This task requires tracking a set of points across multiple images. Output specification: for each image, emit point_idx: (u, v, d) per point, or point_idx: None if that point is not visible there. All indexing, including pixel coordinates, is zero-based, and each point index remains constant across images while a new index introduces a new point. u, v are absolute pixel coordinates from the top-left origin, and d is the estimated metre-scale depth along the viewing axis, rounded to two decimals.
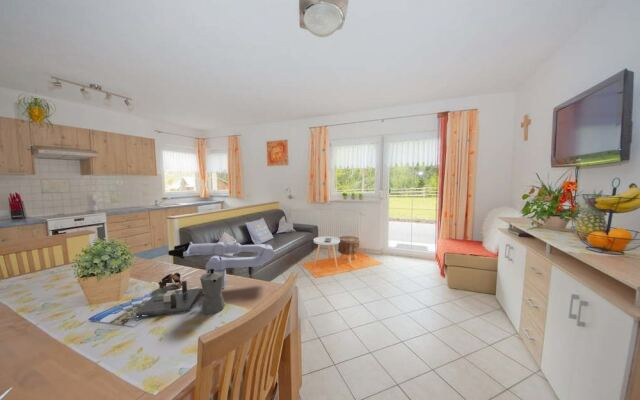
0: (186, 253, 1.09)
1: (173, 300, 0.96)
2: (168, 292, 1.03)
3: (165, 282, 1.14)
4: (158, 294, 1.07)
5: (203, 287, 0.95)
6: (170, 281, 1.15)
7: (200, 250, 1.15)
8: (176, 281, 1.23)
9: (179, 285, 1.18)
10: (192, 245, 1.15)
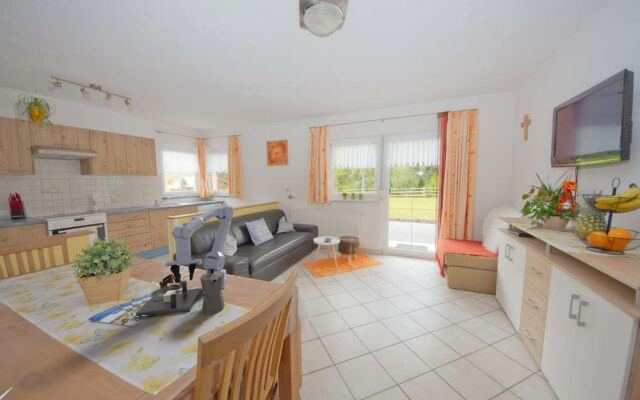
0: (201, 260, 1.04)
1: (173, 300, 0.96)
2: (168, 292, 1.03)
3: (166, 282, 1.14)
4: (158, 294, 1.07)
5: (203, 287, 0.95)
6: (171, 281, 1.15)
7: (187, 251, 1.02)
8: None
9: (180, 285, 1.18)
10: (184, 261, 1.01)
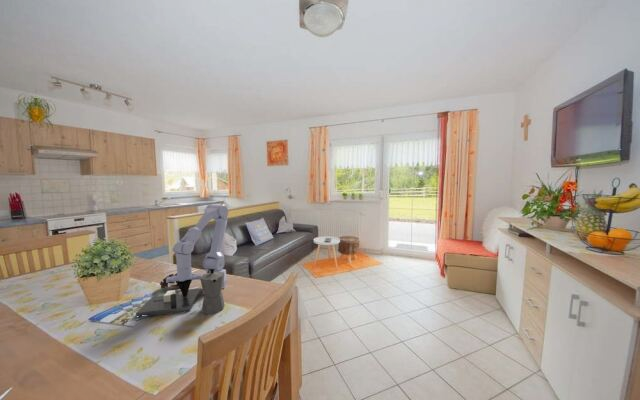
0: None
1: (173, 300, 0.96)
2: (168, 292, 1.03)
3: None
4: (158, 294, 1.07)
5: (203, 287, 0.95)
6: None
7: (188, 267, 1.02)
8: (177, 281, 1.23)
9: None
10: (185, 276, 1.01)
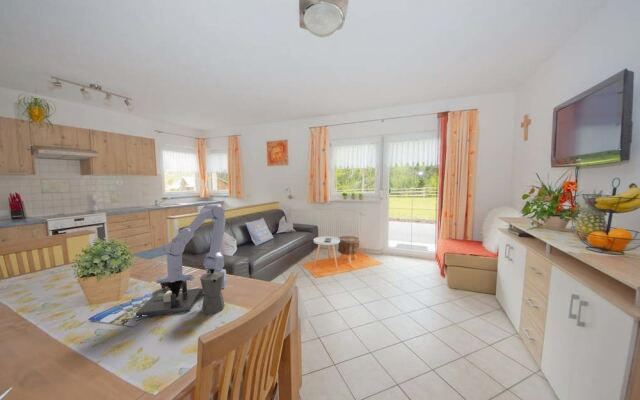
0: (192, 277, 1.04)
1: (173, 300, 0.96)
2: (168, 292, 1.03)
3: (167, 282, 1.14)
4: (158, 294, 1.07)
5: (203, 287, 0.95)
6: None
7: (178, 268, 1.01)
8: None
9: (181, 285, 1.18)
10: (176, 277, 1.00)
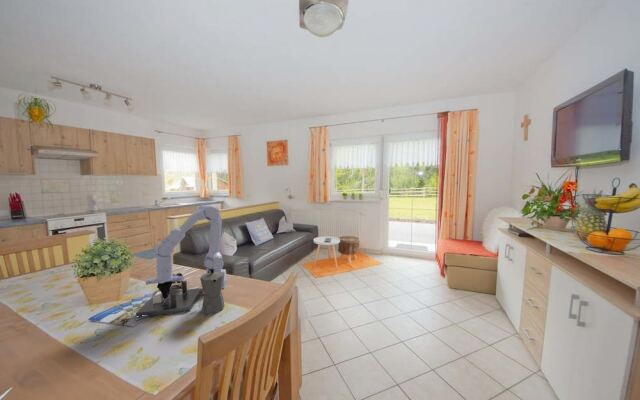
0: (182, 278, 1.03)
1: (173, 300, 0.96)
2: (158, 293, 1.02)
3: None
4: None
5: (203, 287, 0.95)
6: None
7: (166, 269, 1.00)
8: (178, 281, 1.22)
9: None
10: (165, 278, 1.00)
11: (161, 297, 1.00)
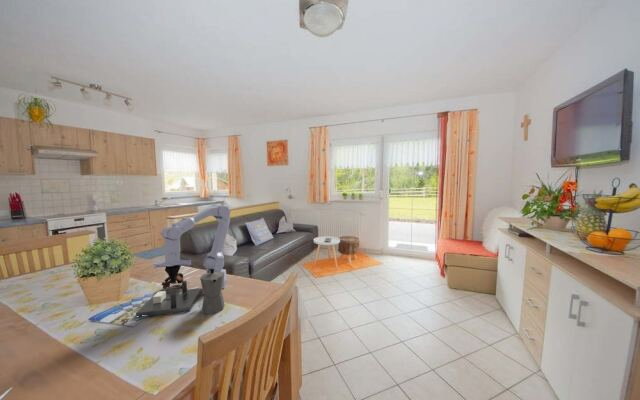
0: (190, 261, 1.03)
1: (173, 300, 0.96)
2: (158, 293, 1.02)
3: (169, 283, 1.14)
4: None
5: (203, 287, 0.95)
6: None
7: (175, 252, 1.00)
8: (179, 281, 1.22)
9: None
10: (173, 262, 1.00)
11: (161, 297, 1.00)
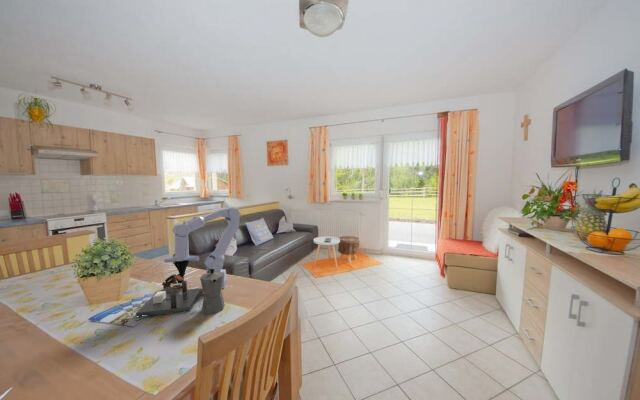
0: (198, 257, 1.09)
1: (173, 300, 0.96)
2: (158, 293, 1.02)
3: (169, 283, 1.14)
4: None
5: (203, 287, 0.95)
6: (174, 282, 1.15)
7: (183, 248, 1.06)
8: (179, 282, 1.22)
9: None
10: (182, 257, 1.06)
11: (161, 297, 1.00)
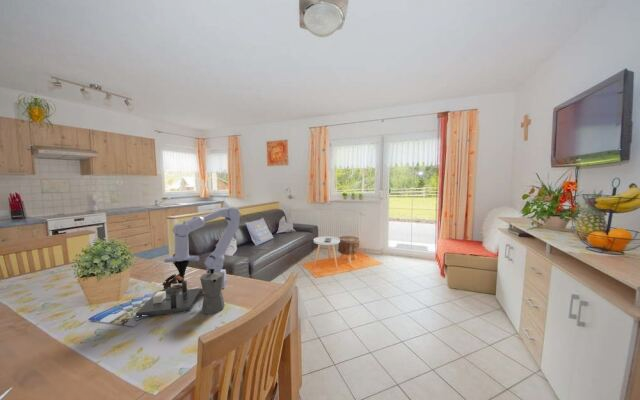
0: (198, 257, 1.09)
1: (173, 300, 0.96)
2: (158, 293, 1.02)
3: (170, 283, 1.14)
4: None
5: (203, 287, 0.95)
6: (175, 282, 1.15)
7: (183, 248, 1.06)
8: (180, 282, 1.22)
9: None
10: (182, 257, 1.06)
11: (161, 297, 1.00)
